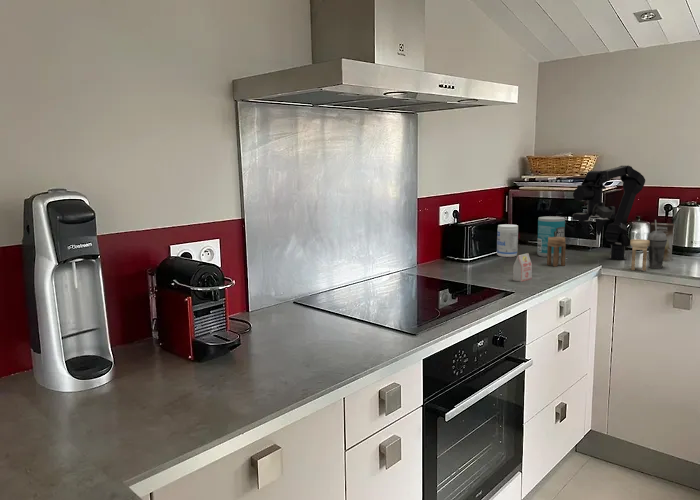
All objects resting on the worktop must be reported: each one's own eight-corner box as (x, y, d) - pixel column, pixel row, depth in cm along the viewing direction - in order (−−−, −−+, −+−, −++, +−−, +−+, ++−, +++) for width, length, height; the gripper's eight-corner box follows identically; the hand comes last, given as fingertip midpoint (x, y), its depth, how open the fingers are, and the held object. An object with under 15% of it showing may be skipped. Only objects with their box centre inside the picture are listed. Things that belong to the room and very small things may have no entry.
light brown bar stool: (628, 267, 235) (630, 238, 233) (647, 268, 232) (649, 239, 230) (629, 270, 229) (630, 241, 227) (648, 271, 226) (650, 242, 224)
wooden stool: (557, 263, 248) (557, 236, 246) (568, 265, 241) (569, 238, 240) (543, 264, 246) (544, 237, 244) (554, 267, 239) (555, 239, 237)
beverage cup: (669, 269, 229) (672, 220, 226) (651, 269, 230) (654, 220, 226) (659, 265, 237) (662, 218, 233) (642, 266, 237) (645, 219, 233)
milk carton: (513, 280, 218) (513, 254, 216) (523, 277, 222) (524, 252, 220) (521, 281, 215) (521, 256, 213) (531, 278, 219) (532, 253, 217)
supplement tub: (492, 255, 271) (493, 225, 269) (505, 253, 277) (505, 223, 274) (509, 258, 263) (509, 227, 261) (521, 255, 269) (522, 225, 267)
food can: (565, 257, 261) (566, 219, 258) (538, 257, 264) (539, 219, 261) (562, 253, 272) (563, 216, 269) (536, 252, 275) (537, 216, 272)
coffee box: (647, 259, 250) (649, 224, 247) (648, 257, 255) (650, 222, 252) (671, 261, 245) (673, 224, 242) (671, 259, 250) (674, 223, 247)
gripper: (591, 202, 232) (589, 239, 235) (626, 200, 238) (624, 236, 241) (572, 200, 243) (571, 236, 245) (606, 198, 249) (604, 233, 251)
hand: (593, 235), depth 245 cm, fingers open, 6 cm apart
